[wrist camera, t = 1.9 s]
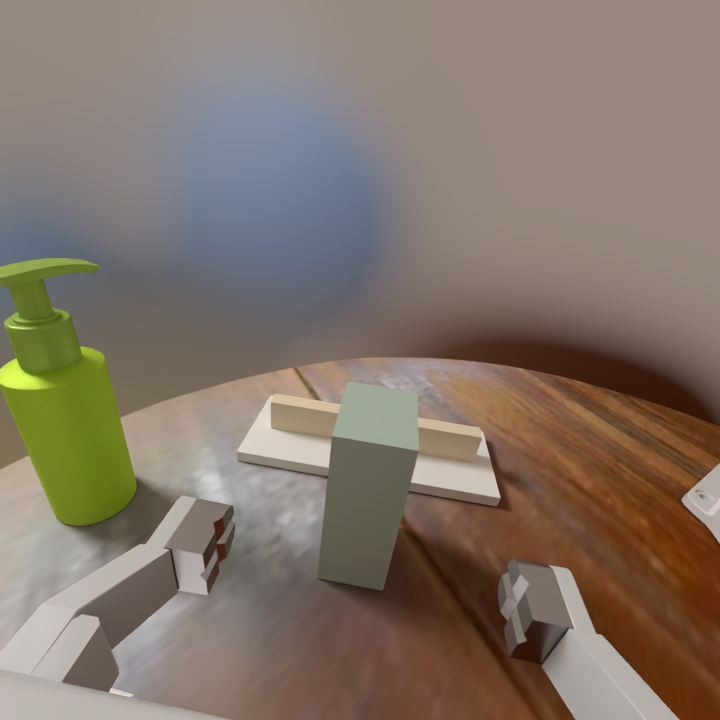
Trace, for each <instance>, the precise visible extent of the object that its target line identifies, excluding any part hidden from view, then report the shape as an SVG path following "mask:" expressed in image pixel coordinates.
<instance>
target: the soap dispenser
mask: <svg viewBox="0 0 720 720" xmlns="http://www.w3.org/2000/svg"><path fill="white" fill-rule="evenodd" d="M99 267H100V266H98V265H95V264H93V263H90V262H87V261H84V260H79V259H68V258H49V259H38V260H31V261H25V262H20V263H15V264H10V265H6V266H1V267H0V285H1V286H4V287H9V289H10V292H11V294H12V297H13V300H14V303H15V305H16V308H17V311H18V312H17V313H15V314H14V315H13V316H11V317H9V318H8V319H6V320H5V322H4V327H5V330H6V332H7V335H8V338H9V340H10V343H11V345H12V348H13V351H14V353H15V356H16V359H14V360H12V361H10V362H9V363H7V364H6V365H4V366H3V367H2V368H1V369H0V388H1V390H2V393H3V395H4V397H5V400H6V402H7V404H8V407H9V409H10V411H11V414H12V416H13V418H14V420H15V423H16V425H17V428H18V430H19V432H20V435H21V437H22V439H23V442H24V444H25V446H26V449H27V451H28V453H29V456H30V458H31V460H32V463H33V465H34V467H35V470H36V472H37V474H38V477H39V479H40V481H41V484H42V486H43V488H44V491H45V493H46V495H47V498H48V500H49V502H50V505H51V507H52V509H53V512H54V514H55V516H56V518H57V519H58V520H59V521H60V522H62V523H64V524H67V525H72V526H84V525H90V524H94V523H98V522H101V521H103V520H105V519H108V518H110V517H112V516H113V515H115V514H116V513H118V512H119V511H121V510H122V509H123V508H124V507H125V506H126V505H127V504H128V503H129V502H130V501H131V500H132V498H133V496H134V495H135V492H136V488H137V484H136V480H135V476H134V472H133V468H132V464H131V460H130V456H129V452H128V448H127V444H126V440H125V436H124V432H123V428H122V424H121V420H120V416H119V412H118V409H117V404H116V400H115V397H114V393H113V388H112V385H111V381H110V377H109V373H108V369H107V365H106V361H105V357H104V355H103V354H102V353H101V352H99V351H97V350H95V349H91V348H87V347H80V346H79V342H78V339H77V335H76V332H75V328H74V325H73V321H72V318H71V316H70V314H69V313H67V312H65V311H63V310H58V309H56V308H52V306H51V303H50V299H49V296H48V293H47V290H46V287H45V283H44V280H43V279H44V278H49V277H53V276H58V275H63V274H70V273H82V272H83V273H84V272H85V273H95V272H97V270H98V269H99Z"/></svg>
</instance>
